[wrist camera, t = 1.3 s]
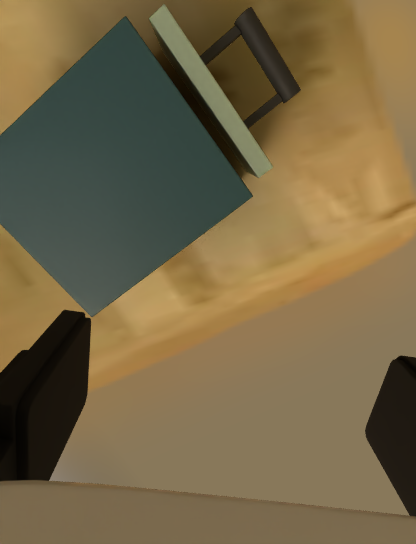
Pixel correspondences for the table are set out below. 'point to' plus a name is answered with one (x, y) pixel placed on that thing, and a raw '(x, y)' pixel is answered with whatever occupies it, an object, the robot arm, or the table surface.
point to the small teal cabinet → (112, 173)
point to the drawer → (211, 93)
